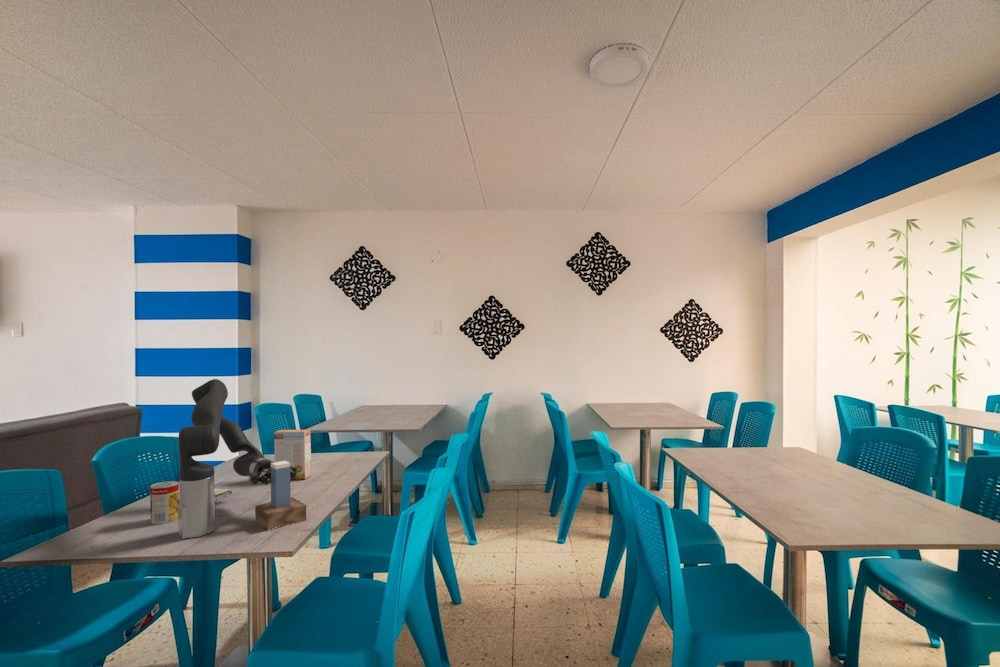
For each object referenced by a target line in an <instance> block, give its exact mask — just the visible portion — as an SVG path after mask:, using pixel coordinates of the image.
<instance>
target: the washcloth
mask: <svg viewBox="0 0 1000 667" xmlns="http://www.w3.org/2000/svg"><path fill="white" fill-rule="evenodd" d="M230 494H231V495H232V494H233V490H231V489H225V488H224V489H220V488H215V487H214V500H215V499H218V498H221V497H224V496H227V495H230ZM231 495H230V496H231ZM227 497H228V496H227ZM224 498H225V497H224ZM221 499H222V498H221ZM218 500H219V499H218ZM215 501H216V500H215ZM179 503H180V496H179Z"/></svg>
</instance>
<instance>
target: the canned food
mask: <svg viewBox="0 0 1000 667" xmlns="http://www.w3.org/2000/svg"><path fill="white" fill-rule="evenodd" d="M149 488H150V489H149V490H150V504H149V505H150V506H149V507H150V510H149V511H150V524H151V523H152V525H163V523H165V524H168V522H169V523H172V522H175V521H177V520H178V503H179V497H180V481H178V480H170V481H169V480H167V481H162V482H161V481H160V482H158V483H157V482H156V483H154V484H151V485H150V486H149ZM176 519H177V520H176ZM174 520H175V521H174ZM171 521H172V522H171Z"/></svg>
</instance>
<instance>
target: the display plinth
mask: <svg viewBox="0 0 1000 667" xmlns="http://www.w3.org/2000/svg"><path fill="white" fill-rule="evenodd" d="M290 497H291V496H290ZM254 508H255V518H254V519H255V520H256V521H257V522H256V521H255V522H256V523H258V522H259V523H260V524H261V525H260V524H259V523H258V524H259V525H260V526H262V525H263V526H264V527H265V528H264V527H263V526H262V527H263V528H264V529H266V528H267V529H272V528H275V527H279V526H283V525H287V524H290V525H293V524H292V523H294V524H297V523H300V521H301V522H305V521H307V504H305V503H303V502H301V501H300V500H298V499H297V498H295V497H291V505H289V506H285V507H281V508H277V509H276V508H274V507H273V506H271V501H270V502H265V503H262V504H257V505H255V507H254ZM304 520H305V521H304ZM296 522H297V523H296ZM287 526H288V525H287ZM283 527H284V526H283ZM279 528H280V527H279ZM267 529H266V530H267ZM272 530H273V529H272Z"/></svg>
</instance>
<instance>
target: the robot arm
mask: <svg viewBox="0 0 1000 667" xmlns="http://www.w3.org/2000/svg"><path fill="white" fill-rule="evenodd" d="M228 396H229V392H228V388H227V386H226V384H225V383H224V382H223V381H222V380H220V379H217V378H214V379H210V380H208V381H207V382H205V383H203V384H201V385H200V386H197V387H196V388H195V389H193V390H192V391H191V398H192V400H193V401H194V403H195V405H194V407H193V409H192V412H191V415H190V418H191V423H192V425H193V426H184V427H182V428H181V429H180V431H179V433H178V437H177V438H178V439H177V440H178V441H177V442H178V443H177V444H178V457H179V497H180V503H178V519H177V524H178V525H177V529H178V530H177V533H178V534H177V535H179V537H180V538H181V539H182V540H183V539H191V538H197V537H202V536H205V535H208V534H210V533H212V532H214V531H215V528H216V526H215V525H216V521H215V519H216V516H215V515H216V514H215V508H216V507H215V502H216V501H214V488H215V467H214V466H213V465H212V464H208V463H202V462H199V461H197V460H195V459H194V458H193V457H197V456H204V455H205V456H206V455H212V454H214V453H215V452H216V451H218V448H219V445H220V436H221V438H222V440H223V441H224V443H225V445H226V446H227V448H228V450H229V452H231V453H239V452H243V451H244V452H246V453H245V454H243V455H241V456H239V457H237V458H235V459H234V461H233V464H232V467H233V471H234V472H235V473H236V474H238V475H239V476H240V477H248V482H250V483H251V484H253V485H256V484H258V483H259V484H264V486H265V485H269V483H270V484H271V463H275V461H273V460H270V459H268V458H266V457H265V455H264V454H263V453H262V451H260V449H258V448H257V447H256V446H254V445H253V444H252V443H251V441H250V440H249V439H248V437H247V435H246V434H245V432H244V430H243V429H242V428H241V426H240V425H239V424H238V423H236V422H234V421H233V420H230V419H228V418H225V417H223V413H224V412H223V411H224V405H225V402H226V401H227V399H228ZM296 475H297V468H295V467H292V466H290V478H291V479H290V480H296V479H295V477H296Z"/></svg>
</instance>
